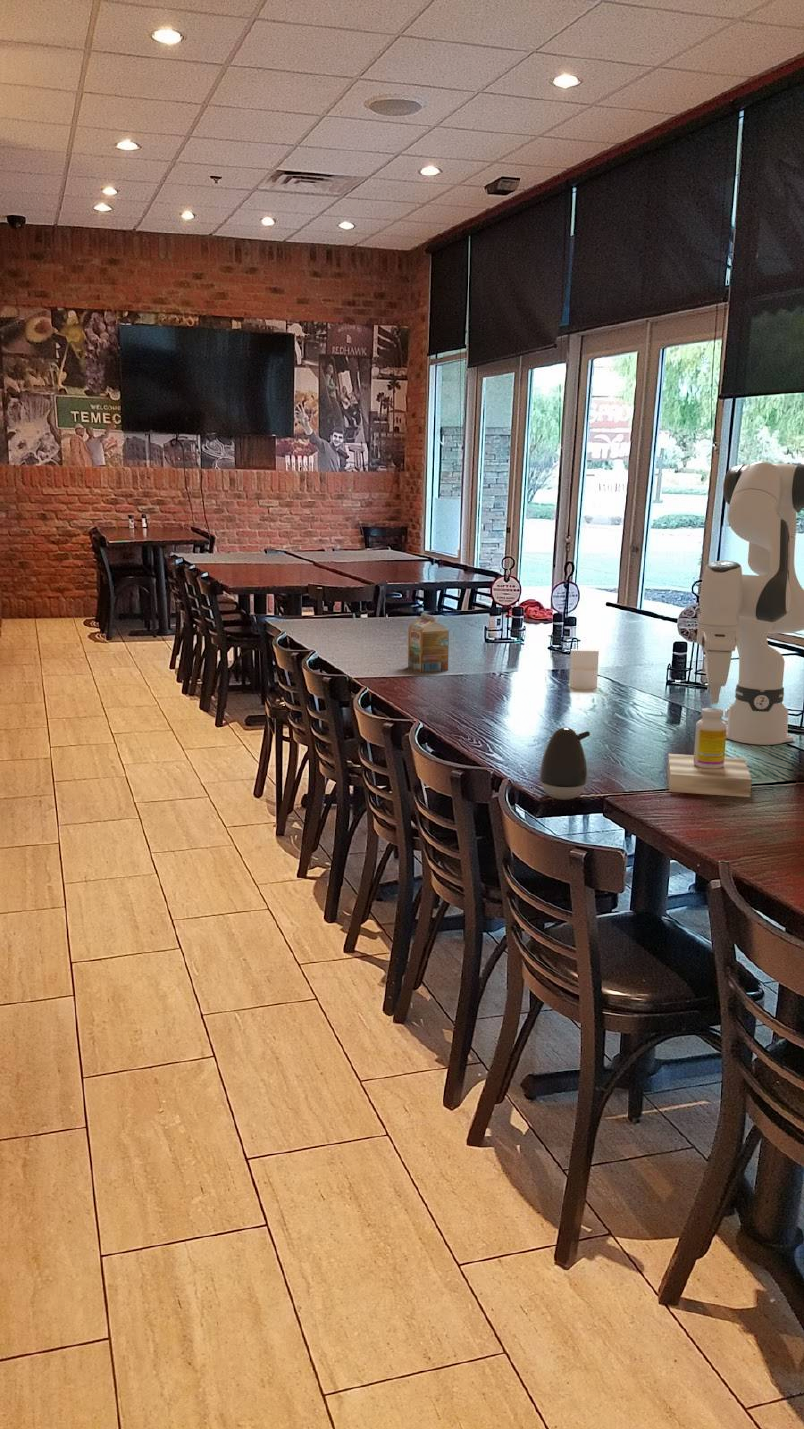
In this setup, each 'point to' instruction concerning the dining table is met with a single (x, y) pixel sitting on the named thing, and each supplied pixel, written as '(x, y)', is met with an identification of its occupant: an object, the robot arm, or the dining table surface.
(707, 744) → the supplement bottle
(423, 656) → the milk carton
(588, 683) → the base with upright slab
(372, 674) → the dining table surface
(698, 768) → the birch plinth
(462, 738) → the dining table surface
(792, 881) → the dining table surface
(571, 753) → the pump dispenser
